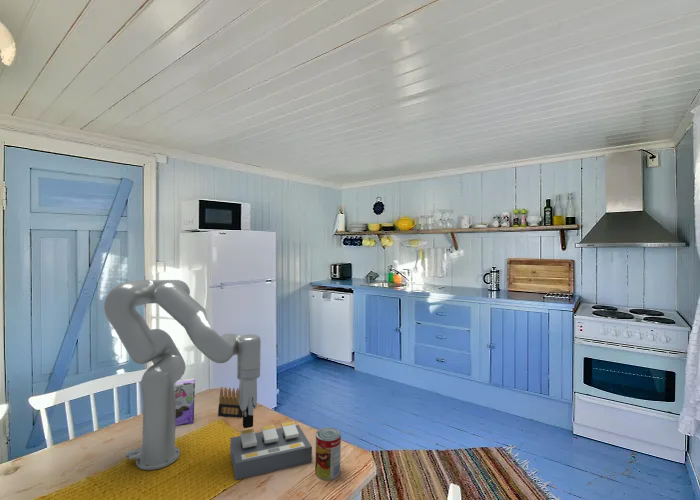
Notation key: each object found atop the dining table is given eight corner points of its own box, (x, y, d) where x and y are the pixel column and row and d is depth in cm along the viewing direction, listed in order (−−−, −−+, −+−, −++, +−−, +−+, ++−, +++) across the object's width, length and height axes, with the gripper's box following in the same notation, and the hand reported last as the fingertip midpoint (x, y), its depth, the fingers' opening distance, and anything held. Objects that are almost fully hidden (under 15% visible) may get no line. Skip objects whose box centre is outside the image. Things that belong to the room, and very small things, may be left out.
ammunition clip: (244, 416, 147) (244, 387, 147) (242, 418, 145) (242, 389, 145) (220, 414, 148) (220, 385, 148) (217, 416, 146) (218, 387, 146)
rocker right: (285, 439, 118) (286, 435, 117) (281, 426, 124) (281, 423, 124) (298, 436, 119) (298, 433, 119) (293, 424, 126) (293, 420, 125)
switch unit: (235, 480, 105) (235, 459, 105) (230, 452, 120) (230, 433, 120) (311, 461, 115) (311, 442, 115) (298, 438, 129) (298, 421, 130)
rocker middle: (264, 443, 115) (265, 440, 114) (261, 430, 121) (261, 426, 121) (278, 440, 116) (278, 437, 116) (273, 427, 123) (274, 424, 123)
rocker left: (242, 448, 112) (243, 444, 112) (240, 434, 118) (240, 430, 118) (256, 445, 114) (257, 441, 113) (253, 431, 120) (253, 428, 120)
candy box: (154, 429, 134) (155, 386, 134) (156, 422, 140) (157, 381, 140) (193, 423, 139) (194, 382, 140) (194, 417, 145) (195, 377, 145)
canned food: (323, 461, 115) (324, 425, 115) (344, 469, 111) (345, 431, 112) (310, 475, 108) (310, 436, 108) (332, 483, 104) (332, 442, 105)
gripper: (234, 367, 124) (233, 419, 123) (240, 381, 110) (239, 439, 110) (256, 364, 127) (255, 415, 126) (264, 377, 113) (263, 434, 113)
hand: (247, 426), depth 118 cm, fingers closed
